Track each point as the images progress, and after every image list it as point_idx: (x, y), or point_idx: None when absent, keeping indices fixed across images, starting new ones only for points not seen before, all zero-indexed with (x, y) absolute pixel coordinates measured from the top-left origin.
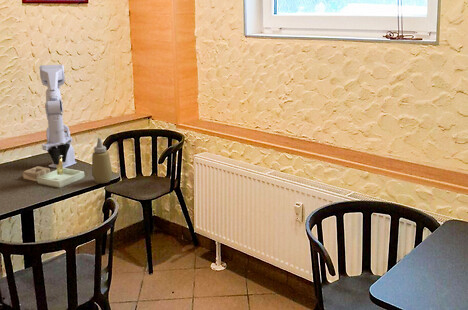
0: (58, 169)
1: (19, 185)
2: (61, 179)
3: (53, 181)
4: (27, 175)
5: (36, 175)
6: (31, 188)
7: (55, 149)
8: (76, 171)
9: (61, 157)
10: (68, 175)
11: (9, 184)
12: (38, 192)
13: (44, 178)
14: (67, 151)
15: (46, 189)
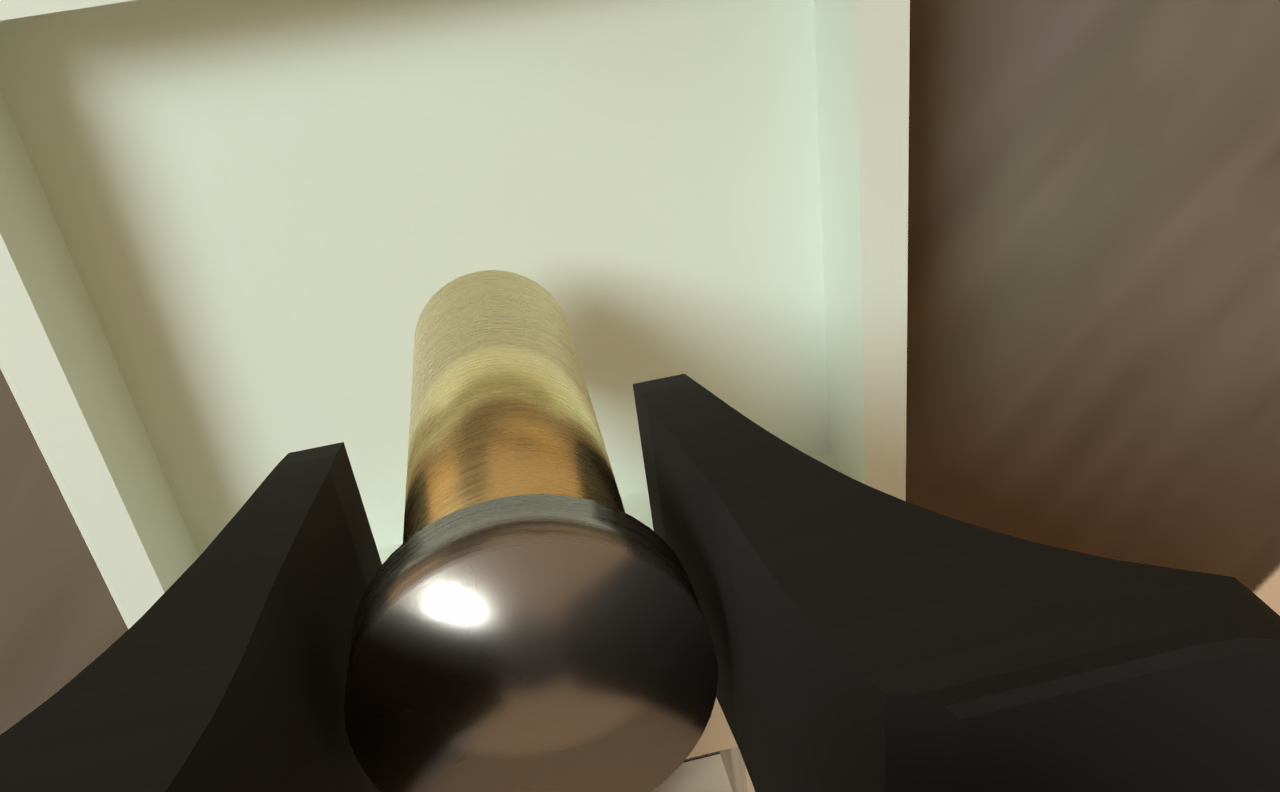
0: (577, 364)
1: None
2: (503, 234)
3: (900, 55)
4: None
5: None
6: (1103, 314)
7: (1227, 756)
8: (5, 229)
9: (527, 499)
10: (221, 342)
11: None
12: (1237, 6)
13: (890, 361)
14: (58, 702)
15: (1043, 22)
